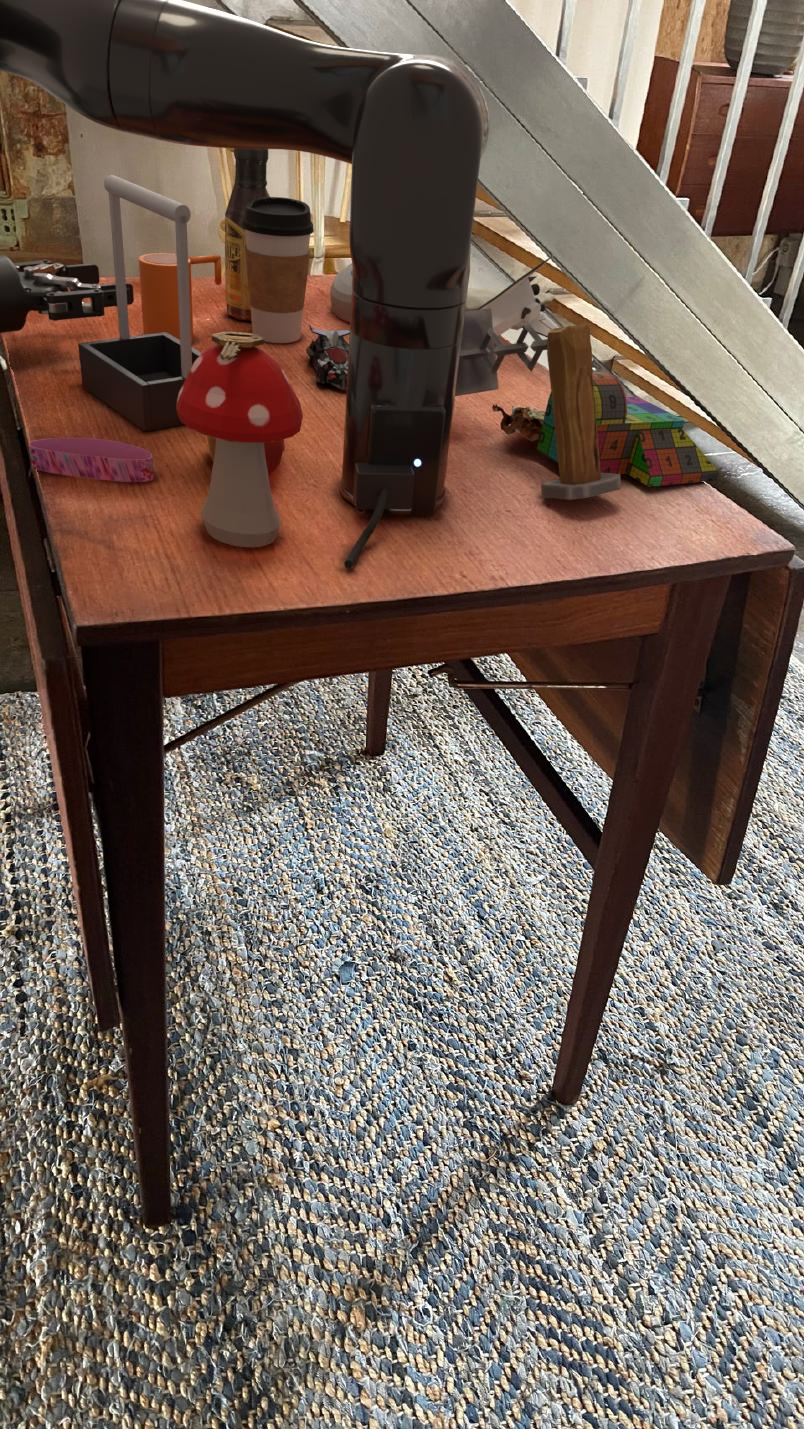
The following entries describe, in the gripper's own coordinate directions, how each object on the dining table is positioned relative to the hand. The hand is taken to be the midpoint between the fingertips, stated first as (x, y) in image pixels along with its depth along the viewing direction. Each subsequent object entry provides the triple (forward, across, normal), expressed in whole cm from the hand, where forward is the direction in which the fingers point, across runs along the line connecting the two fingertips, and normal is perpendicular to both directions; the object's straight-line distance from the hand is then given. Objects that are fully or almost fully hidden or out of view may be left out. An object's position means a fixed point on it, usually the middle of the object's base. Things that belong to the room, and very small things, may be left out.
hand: (114, 283), depth 115 cm
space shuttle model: (+39, -17, +2) cm, 43 cm away
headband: (-18, -30, +3) cm, 35 cm away
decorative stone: (+40, -2, +5) cm, 40 cm away
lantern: (+18, -43, +7) cm, 47 cm away
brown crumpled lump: (+25, -43, +2) cm, 49 cm away
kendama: (-4, -33, +7) cm, 34 cm away
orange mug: (+9, 0, +7) cm, 11 cm away
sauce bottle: (+21, +5, +7) cm, 22 cm away
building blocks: (+27, -54, +7) cm, 61 cm away
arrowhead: (+39, 0, +6) cm, 40 cm away
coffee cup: (+19, -4, +7) cm, 21 cm away
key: (-14, -50, -8) cm, 52 cm away
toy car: (+17, -19, +7) cm, 27 cm away
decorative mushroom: (-13, -48, +7) cm, 50 cm away
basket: (-5, -18, +7) cm, 20 cm away
